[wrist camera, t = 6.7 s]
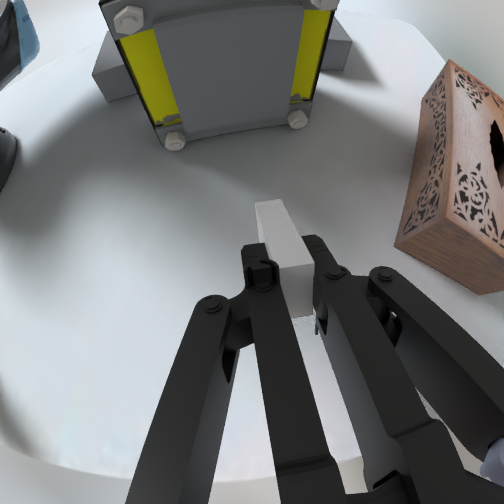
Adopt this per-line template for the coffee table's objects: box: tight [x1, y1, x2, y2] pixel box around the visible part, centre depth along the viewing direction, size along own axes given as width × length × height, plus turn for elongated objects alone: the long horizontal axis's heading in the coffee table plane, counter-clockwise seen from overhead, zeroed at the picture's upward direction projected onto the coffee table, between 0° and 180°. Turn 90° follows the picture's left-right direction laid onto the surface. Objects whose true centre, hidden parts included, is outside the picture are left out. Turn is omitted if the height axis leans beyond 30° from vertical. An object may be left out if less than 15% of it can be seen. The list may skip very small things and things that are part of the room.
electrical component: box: [98, 0, 340, 151], centre depth 22 cm, size 18×10×20 cm, turn 102°
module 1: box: [92, 30, 137, 102], centre depth 31 cm, size 5×12×6 cm, turn 9°
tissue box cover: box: [394, 59, 504, 295], centre depth 25 cm, size 26×14×10 cm, turn 155°
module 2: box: [321, 16, 352, 70], centre depth 32 cm, size 5×12×6 cm, turn 9°
